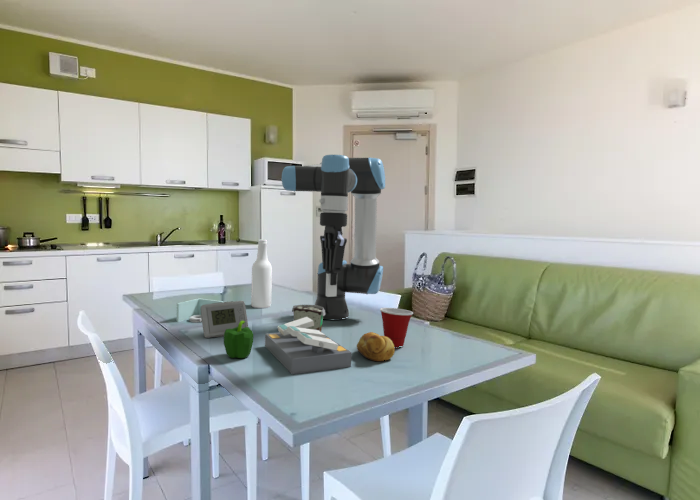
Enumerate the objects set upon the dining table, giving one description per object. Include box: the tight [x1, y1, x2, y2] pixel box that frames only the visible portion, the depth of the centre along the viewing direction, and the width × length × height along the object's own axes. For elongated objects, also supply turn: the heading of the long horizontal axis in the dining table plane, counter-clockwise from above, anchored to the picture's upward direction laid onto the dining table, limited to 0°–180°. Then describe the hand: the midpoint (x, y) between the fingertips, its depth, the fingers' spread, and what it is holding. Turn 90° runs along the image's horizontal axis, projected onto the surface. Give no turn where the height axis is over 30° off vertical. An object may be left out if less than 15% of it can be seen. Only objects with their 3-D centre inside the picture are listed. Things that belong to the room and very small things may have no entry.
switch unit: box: [264, 329, 352, 375], centre depth 127 cm, size 17×26×6 cm, turn 26°
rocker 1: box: [277, 317, 314, 335], centre depth 135 cm, size 10×6×2 cm, turn 116°
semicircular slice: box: [291, 304, 325, 332], centre depth 150 cm, size 12×6×10 cm, turn 65°
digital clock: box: [201, 300, 249, 339], centre depth 147 cm, size 16×9×11 cm, turn 121°
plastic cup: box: [379, 307, 414, 347], centre depth 141 cm, size 11×11×12 cm
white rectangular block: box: [297, 333, 339, 350], centre depth 119 cm, size 10×6×2 cm, turn 117°
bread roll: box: [356, 331, 396, 362], centre depth 129 cm, size 13×10×8 cm
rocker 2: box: [287, 326, 327, 338], centre depth 127 cm, size 10×6×2 cm, turn 117°
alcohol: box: [250, 239, 273, 309], centre depth 193 cm, size 9×9×30 cm
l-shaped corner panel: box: [176, 297, 225, 323], centre depth 165 cm, size 12×12×8 cm
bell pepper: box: [223, 321, 254, 359], centre depth 124 cm, size 8×8×10 cm
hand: (331, 296), depth 122 cm, fingers closed
